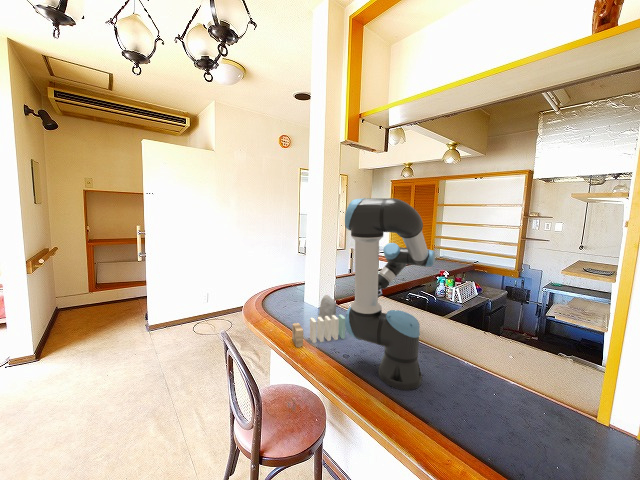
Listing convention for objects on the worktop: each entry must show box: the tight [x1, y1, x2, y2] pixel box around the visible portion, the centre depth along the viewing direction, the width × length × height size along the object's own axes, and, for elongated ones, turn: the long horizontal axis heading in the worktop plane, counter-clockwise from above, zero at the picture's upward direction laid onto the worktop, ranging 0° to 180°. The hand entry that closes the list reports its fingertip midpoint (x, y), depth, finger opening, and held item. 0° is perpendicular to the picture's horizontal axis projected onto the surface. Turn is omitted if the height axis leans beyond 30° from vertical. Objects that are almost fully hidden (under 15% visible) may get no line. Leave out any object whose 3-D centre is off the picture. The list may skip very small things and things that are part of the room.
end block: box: [291, 322, 304, 348], centre depth 121 cm, size 8×3×8 cm, turn 19°
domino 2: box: [316, 316, 325, 343], centre depth 124 cm, size 5×2×10 cm, turn 19°
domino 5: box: [337, 314, 346, 340], centre depth 128 cm, size 5×2×10 cm, turn 19°
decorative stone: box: [318, 294, 337, 320], centre depth 141 cm, size 11×6×15 cm, turn 41°
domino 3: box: [324, 316, 332, 342], centre depth 125 cm, size 5×2×10 cm, turn 19°
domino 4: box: [331, 315, 339, 341], centre depth 126 cm, size 5×2×10 cm, turn 19°
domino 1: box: [309, 317, 317, 344], centre depth 123 cm, size 5×2×10 cm, turn 19°
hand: (352, 314), depth 129 cm, fingers closed
